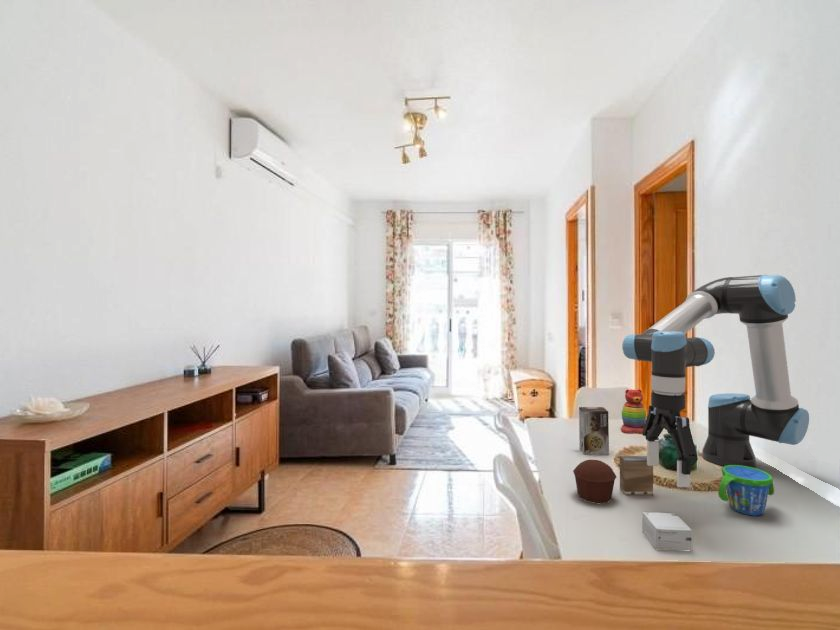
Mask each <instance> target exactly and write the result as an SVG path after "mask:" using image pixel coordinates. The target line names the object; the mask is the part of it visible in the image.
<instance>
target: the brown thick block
mask: <svg viewBox="0 0 840 630" xmlns="http://www.w3.org/2000/svg"><path fill="white" fill-rule="evenodd" d="M619 490H620V492H622V493H623V494H624V495H627V496H629V495H631V496H633V495H635V496H636V495H638V496H639V495H640V496H641V495H646V496H647V495H650V496H651V495H654V466H648V465H647V455H620V456H619Z"/></svg>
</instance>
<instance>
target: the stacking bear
mask: <svg viewBox="0 0 840 630" xmlns="http://www.w3.org/2000/svg"><path fill="white" fill-rule="evenodd" d="M624 393H625V394H624V399H625V400H626V402H624V405H622V410H621V419H622V423H623V424H622V426H621V427H620V431H621V432H622V433H623V434H628V435H630V434H641V435H642V432H643V428H644V425H645V422H646V419H647V414H646V410H645V407H644V404H643V403H642V401H643V399H644V397H643V394H642V390H641V389H625V392H624Z"/></svg>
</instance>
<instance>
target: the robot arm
mask: <svg viewBox="0 0 840 630" xmlns="http://www.w3.org/2000/svg"><path fill="white" fill-rule="evenodd" d="M796 301H797V300H796V292H795V289H794V287H793V284H792V283H791V282H790V281H789V279H788V278H786V277H785V276H782V275H779V274H776V275H775V274H770V275H769V274H761V275H759V274H757V275H747V276H745V275H743V276H729V277H728V276H727V277H721V278H718V279H714V280H712V281H710V282H708V283H706V284H704V285H701V286H700V287H698V288H696V289H695V290H693V291H692V292H691V293H689V294H688V295H687V297H686V298H685V301H684V302H682V303H681V304H680V305H679V306H677V307H676V308H674V309H673V310H672V311H670V312H669V313H668V314H666V315H664V317H663V318H660V320H659V321H657V322H656V323H655V324H653V325H652V326H651V327H649V328H647V329H646V330H645V331H644V332H642V333H640V334H638V333H635V334H627V335H626V336H625V337H624V339H623V341H622V346H621V347H622V351H623V352H622V353H623V355H624V356H625V357H626V358H628V359H629V360H635V361H638V362H639V361H640V362H650V363H651V374H650V376H651V377H650V381H651V382H650V386H651V387H650V389H651V390H652V391H651V393H650V405H649V406H648V413H647V415H646V421H645V425H644V428H643V432H642V434H641V435H642V436H644V437H645V440H646V442H647V443H646V444H647V445H646V449H647V450H646V456H647V465H648V466H653V467H656V466H657V467H658V466H659V465H660V464H659V462H660V461H659V460H660V459H659V458H660V457H659V455H660V454H659V453H660V449H659V447H660V446H659V445H660V442H659V441H660V440H659V439H660V438H659V436H660V435H661V434H662V432H663V431H664V430H666V432H667V434H669V435H670V437H671V439H672V442H673V445H674V447H675V450H676V452H677V453H676V454H677V455H678V457H677V458H676V487H677V488H691V473H692V472H691V470H692V469H691V467H692V466H691V465H692V462H696V461H697V462H698V459H699V457H698V454H697V450H696V446H695V443H694V438H693V435H692V432H691V431H692V430H691V428H690V427H691V426H690V418H689V417H687V416H686V417H684V416H683V417H682V416H681V411H683V410H685V409H686V395H685V394H684V393H685V392H686V382H687V381H686V369H687V368H689V367H690V368H691V367H702V366H703V365H707V364H709V363H711V362H712V360H713V359H714V357H715V355H716V354H715V353H716V352H715V347H714V345H713V344H712V342H711V341H709V339H706V338H704V337H698V336H697V337H696V336H692V337H687V335H686V334H687V333H688V332H690V331H691V330H692V329H694V328H695V327H696V326H697V325H699V324H700V323H701V322H702V321H703V320H705V319H711V318H712V317H714V316H716V315H721V314H738V316H739V317H738V318H739V321H740V323H741V324H743V325H745V326H746V331H747V338H748V344H749V345H748V346H749V353H750V359H751V367H752V373H753V374H752V375H753V382H754V383H753V384H754V390H755V395H754V396H753V397H751V396H750V395H749V394H746V393H735V392H734V393H727V392H726V393H715V394H712V395H710V396H709V399H708V405H707V411H708V415H707V418H708V419H707V422H708V425H707V427H708V430H707V431H708V433H707V437H706V440H705V443H704V444H703V447H702V452H701V453H702V454H701V455H702V458H703V459H704V460H706V461H708V462H710V463H713V464H716V465H718V466H719V465H720V466H723V467H724V466H727V465H741V466H748V467H752V468H755V467H756V465H757V463H756V461H757V458H756V455H755V453H754V450H753V448H752V444H751V442H750V436H751V437H755V438H759V439H763V440H768V441H772V442H776V443H779V444H785V445H791V446H792V445H793V446H796V445H798V444H799V443H801V442H802V441H803V440H804V438H805V436H806V433H808V432H807V431H808V429H809V425H810V424H809V423H810V414H809V412H808V410H807V409H804V408H803V407H800V405H799V400H798V399H797V397H794V396H793V395H792V392H791V385H790V378H789V377H790V376H789V369H788V368H789V367H788V361H787V354H786V353H787V351H786V342H785V336H784V327H783V324H784V322H786V320H788V318H789V315H791V314H792V313H793V312H794V310H795V308H796Z"/></svg>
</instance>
